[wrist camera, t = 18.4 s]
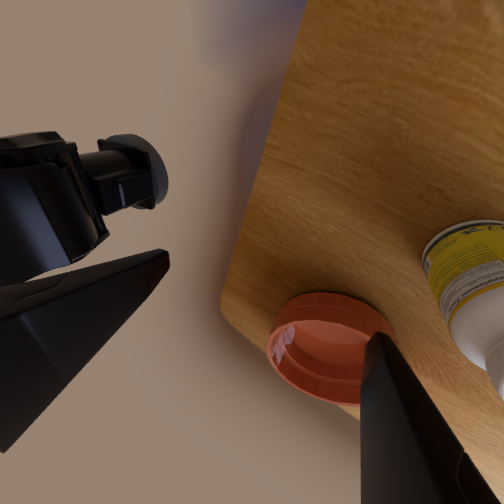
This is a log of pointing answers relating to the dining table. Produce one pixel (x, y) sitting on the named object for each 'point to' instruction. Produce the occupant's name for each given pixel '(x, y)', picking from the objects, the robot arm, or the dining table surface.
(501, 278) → the pill bottle
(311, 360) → the bowl
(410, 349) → the dining table surface
